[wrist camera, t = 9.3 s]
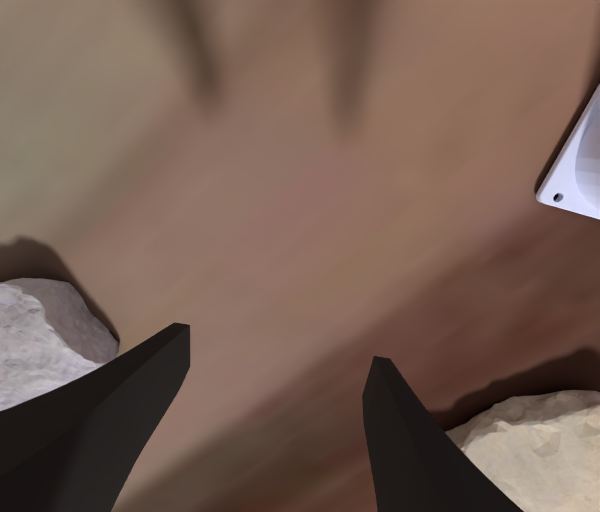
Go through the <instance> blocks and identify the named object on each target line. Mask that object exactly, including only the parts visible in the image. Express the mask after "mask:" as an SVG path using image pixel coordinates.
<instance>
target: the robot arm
mask: <svg viewBox="0 0 600 512" xmlns="http://www.w3.org/2000/svg"><path fill="white" fill-rule="evenodd" d="M557 193H558V198H557V199H556V200H553V197H554V196H555V195H556V194H557ZM536 199H537V200H538V201H539V202H541V203H544V204H548V205H551V206H555V207H558V208H562V209H565V210H569V211H572V212H576V213H579V214H583V215H587V216H590V217H594V218H597V219H600V84H599V86H598V87H597V89H596V91H595V93H594V94H593V96H592V98H591V100H590V101H589V103H588V105H587V106H586V108H585V110H584V112H583V113H582V115H581V117H580V119H579V120H578V122H577V124H576V126H575V127H574V129H573V131H572V133H571V134H570V136H569V138H568V140H567V141H566V143H565V145H564V146H563V148H562V150H561V152H560V153H559V155H558V157H557V159H556V160H555V162H554V164H553V166H552V167H551V169H550V171H549V173H548V174H547V176H546V178H545V180H544V181H543V183H542V185H541V186H540V188H539V190H538V192H537V194H536ZM189 368H190V325H186V324H181V323H173V324H171V325H170V326H168V327H166V328H165V329H163V330H162V331H160V332H158V333H157V334H155V335H154V336H152V337H150V338H149V339H147V340H146V341H144V342H142V343H141V344H139V345H137V346H136V347H134V348H133V349H131V350H129V351H128V352H126V353H124V354H122V355H121V356H119V357H117V358H115V359H113V360H112V361H110V362H108V363H106V364H105V365H103V366H101V367H99V368H97V369H96V370H94V371H92V372H90V373H88V374H86V375H84V376H82V377H80V378H78V379H76V380H73V381H71V382H69V383H67V384H65V385H63V386H61V387H59V388H56V389H54V390H52V391H49V392H47V393H45V394H42V395H40V396H37V397H35V398H32V399H30V400H28V401H25V402H23V403H20V404H18V405H15V406H13V407H10V408H8V409H5V410H2V411H0V512H111V510H112V508H113V506H114V504H115V501H116V499H117V497H118V495H119V493H120V491H121V489H122V487H123V485H124V483H125V481H126V480H127V478H128V476H129V474H130V472H131V470H132V468H133V466H134V464H135V462H136V460H137V458H138V457H139V455H140V453H141V451H142V450H143V448H144V446H145V445H146V443H147V441H148V440H149V438H150V437H151V435H152V433H153V432H154V430H155V429H156V427H157V425H158V424H159V422H160V421H161V419H162V417H163V416H164V414H165V413H166V411H167V409H168V408H169V406H170V404H171V403H172V401H173V399H174V398H175V396H176V395H177V393H178V391H179V389H180V387H181V385H182V383H183V381H184V379H185V377H186V374H187V372H188V370H189ZM362 398H363V418H364V427H365V433H366V439H367V445H368V451H369V457H370V463H371V469H372V475H373V480H374V486H375V493H376V500H377V508H378V512H524V511H523V510H522V509H521V508H520V507H518V506H517V505H516V504H515V503H514V502H513V501H512V500H511V499H510V498H508V497H507V496H506V495H505V494H504V493H503V492H502V491H501V490H500V489H499V488H498V487H497V486H496V485H495V484H494V483H493V482H492V481H491V480H490V479H488V478H487V477H486V476H485V475H484V474H483V473H482V472H481V471H480V470H479V469H478V468H477V467H476V466H475V465H474V464H473V463H472V462H471V460H470V459H469V458H468V457H467V456H466V455H465V454H464V453H463V452H462V451H461V450H460V449H459V448H458V446H457V445H456V444H455V443H454V442H453V441H452V440H451V439H450V438H449V436H448V435H447V434H446V433H445V432H444V431H443V429H442V428H441V427H440V426H439V425H438V423H437V422H436V421H435V420H434V418H433V417H432V416H431V415H430V413H429V412H428V411H427V410H426V408H425V407H424V406H423V404H422V403H421V402H420V400H419V399H418V398H417V396H416V395H415V394H414V392H413V391H412V389H411V388H410V387H409V385H408V384H407V382H406V381H405V379H404V378H403V377H402V375H401V374H400V372H399V371H398V369H397V368H396V367H395V365H394V364H393V362H392V361H391V359H389V358H383V357H377V356H374V358H373V361H372V365H371V368H370V371H369V375H368V378H367V382H366V385H365V388H364V392H363V395H362Z"/></svg>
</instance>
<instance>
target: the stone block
mask: <svg viewBox="0 0 600 512" xmlns="http://www.w3.org/2000/svg"><path fill="white" fill-rule="evenodd" d="M118 348H119V343H118V341H116V340H115V339H114V338H113V336H112V334H111V333H110V332H109V329H108V328H106V327H105V326H104V325H103V324H102V323H101V322H100V321H99V320H98V319H97V318H95V317H94V316H93V315H92V314H91V313H90V311H89V310H88V308H87V306H86V304H85V303H84V300H83V298H82V297H81V296H80V294H79V293H78V292H77V291H76V289H75V288H74V286H72V285H71V284H70V283H68V282H64V281H57V280H50V279H43V278H37V279H33V278H20V279H13V280H9V281H6V282H1V283H0V411H2V410H5V409H8V408H10V407H13V406H15V405H18V404H20V403H23V402H25V401H28V400H30V399H32V398H35V397H37V396H40V395H42V394H45V393H47V392H49V391H52V390H54V389H56V388H59V387H61V386H63V385H65V384H67V383H69V382H71V381H73V380H76V379H78V378H80V377H82V376H84V375H86V374H88V373H90V372H92V371H94V370H96V369H97V368H99V367H101V366H103V365H105V364H106V363H108V362H110V361H112V360H113V359H115V358H116V357H117V354H118Z"/></svg>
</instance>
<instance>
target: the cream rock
mask: <svg viewBox="0 0 600 512" xmlns="http://www.w3.org/2000/svg"><path fill="white" fill-rule="evenodd" d="M445 433H446V434H447V435H448V436H449V438H450V439H451V440H452V441H453V442H454V443H455V444H456V445H457V446H458V448H459V449H460V450H461V451H462V452H463V453H464V454H465V455H466V456H467V457H468V458H469V459H470V460H471V462H472V463H473V464H474V465H475V466H476V467H477V468H478V469H479V470H480V471H481V472H482V473H483V474H484V475H485V476H486V477H487V478H488V479H490V480H491V481H492V482H493V483H494V484H495V485H496V486H497V487H498V488H499V489H500V490H501V491H502V492H503V493H504V494H505V495H506V496H507V497H508V498H510V499H511V500H512V501H513V502H514V503H515V504H516V505H517V506H518V507H520V508H521V509H522V510H523V511H524V512H600V392H597V391H588V390H563V391H558V392H554V393H549V394H543V395H536V396H519V397H515V396H514V397H510V398H509V399H507V400H505V401H503V402H500V403H497V404H494V405H493V406H492V408H490V409H489V410H486V411H484V412H482V413H480V414H478V415H477V416H475V417H473V418H471V419H470V420H469V421H468V422H467V423H466V424H462V425H460V426H458V427H456V428H454V429H452V430H450V431H446V432H445Z"/></svg>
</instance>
